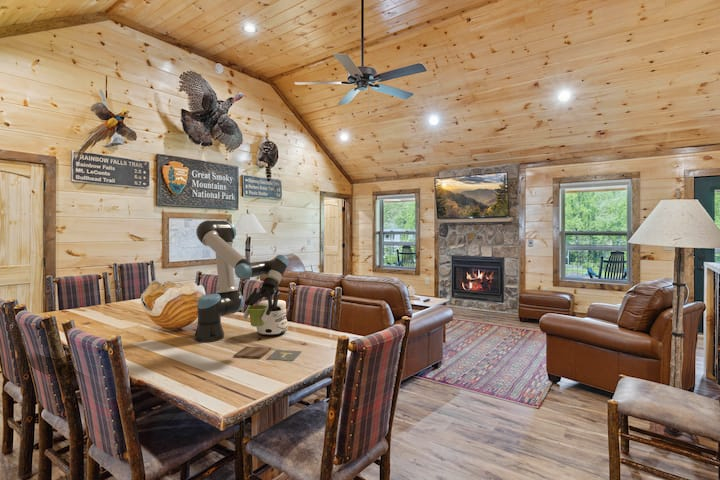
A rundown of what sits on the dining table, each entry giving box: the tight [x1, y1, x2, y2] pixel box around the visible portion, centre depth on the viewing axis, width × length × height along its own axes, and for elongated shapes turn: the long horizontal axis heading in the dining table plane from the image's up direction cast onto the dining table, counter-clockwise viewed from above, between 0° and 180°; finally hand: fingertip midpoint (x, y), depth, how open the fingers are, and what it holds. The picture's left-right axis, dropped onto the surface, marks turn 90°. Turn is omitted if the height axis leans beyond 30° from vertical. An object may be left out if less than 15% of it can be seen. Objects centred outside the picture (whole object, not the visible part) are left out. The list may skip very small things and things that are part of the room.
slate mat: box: [266, 349, 303, 362], centre depth 181 cm, size 13×13×1 cm
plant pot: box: [247, 304, 267, 328], centre depth 183 cm, size 9×9×9 cm
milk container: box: [256, 299, 289, 337], centre depth 218 cm, size 17×17×18 cm
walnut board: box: [233, 345, 272, 360], centre depth 184 cm, size 13×13×1 cm
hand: (253, 319), depth 180 cm, fingers closed on plant pot, 9 cm apart
